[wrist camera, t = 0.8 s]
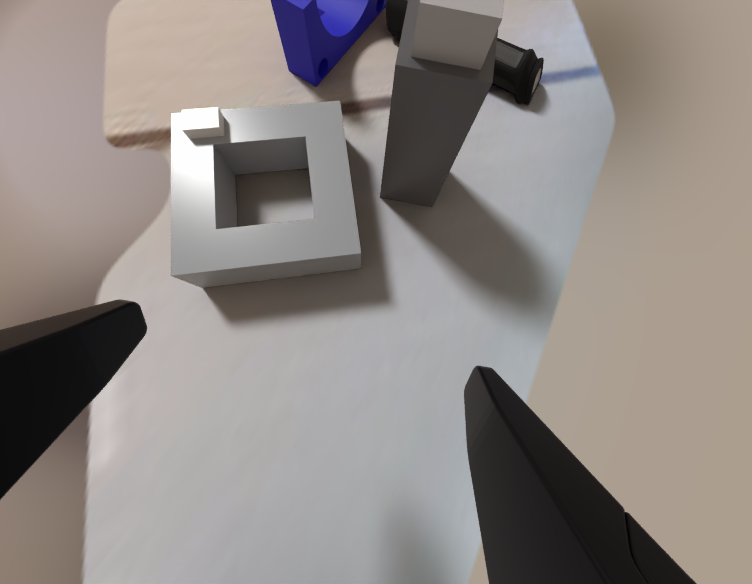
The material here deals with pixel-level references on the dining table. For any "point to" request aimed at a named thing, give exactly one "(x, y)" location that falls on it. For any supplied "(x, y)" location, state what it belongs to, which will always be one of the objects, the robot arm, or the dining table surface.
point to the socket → (256, 155)
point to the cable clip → (321, 32)
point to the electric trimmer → (511, 62)
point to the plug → (437, 92)
